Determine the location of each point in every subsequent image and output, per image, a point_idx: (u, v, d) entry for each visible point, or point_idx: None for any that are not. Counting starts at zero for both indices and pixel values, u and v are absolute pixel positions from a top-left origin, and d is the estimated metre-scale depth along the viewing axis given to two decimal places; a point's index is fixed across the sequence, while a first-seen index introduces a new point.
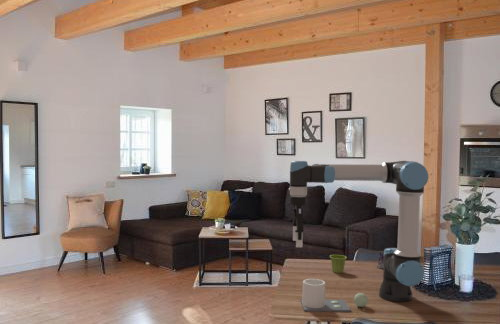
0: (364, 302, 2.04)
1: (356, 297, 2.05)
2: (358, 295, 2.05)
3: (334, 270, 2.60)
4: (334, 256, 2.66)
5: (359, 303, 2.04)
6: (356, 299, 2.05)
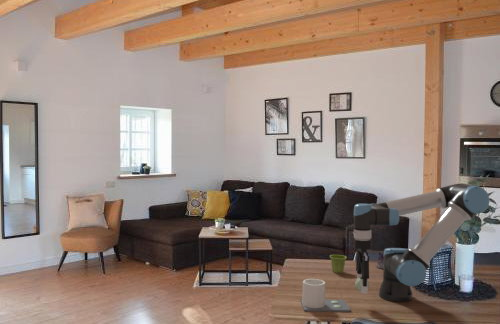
0: None
1: (357, 282, 2.05)
2: (359, 280, 2.05)
3: (334, 270, 2.60)
4: (334, 256, 2.66)
5: (360, 288, 2.04)
6: (357, 284, 2.05)
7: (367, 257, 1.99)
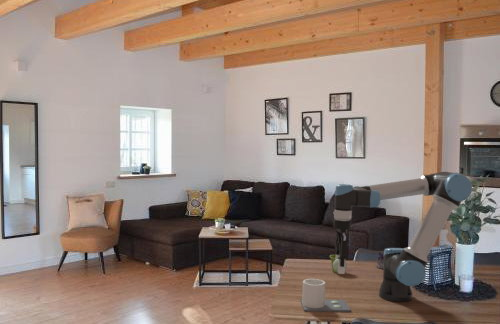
0: None
1: (335, 262, 2.05)
2: (337, 260, 2.05)
3: (334, 270, 2.60)
4: (334, 256, 2.66)
5: (337, 268, 2.03)
6: (335, 264, 2.04)
7: (346, 237, 1.99)
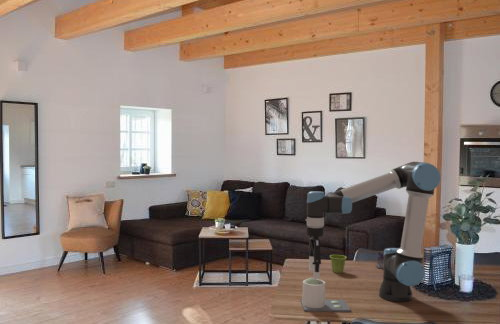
0: None
1: None
2: (306, 282, 2.05)
3: (334, 270, 2.60)
4: (334, 256, 2.66)
5: None
6: None
7: (318, 241, 1.99)
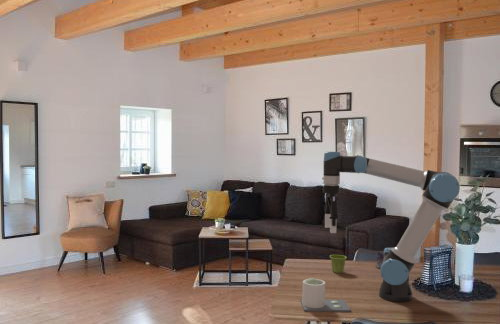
0: None
1: None
2: None
3: (334, 270, 2.60)
4: (334, 256, 2.66)
5: None
6: None
7: (334, 197, 2.10)
